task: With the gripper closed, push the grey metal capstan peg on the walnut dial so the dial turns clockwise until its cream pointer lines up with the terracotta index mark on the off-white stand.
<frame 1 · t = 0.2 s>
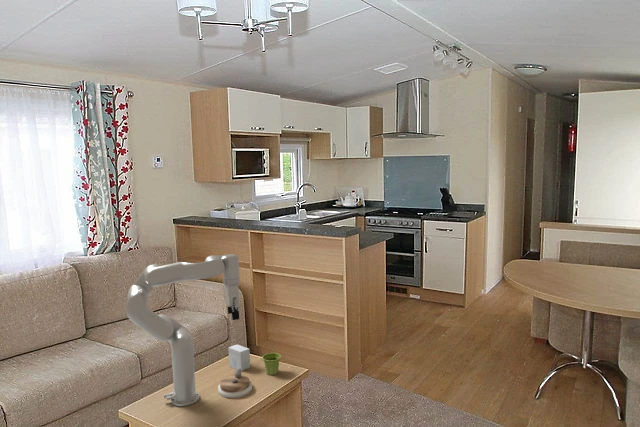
hand: (233, 316, 220), 36 cm above the table, tool pointing down, fingers open, 9 cm apart
dial: (234, 379, 222), point 5 cm above the table, hinge at 60.0°
stand: (235, 389, 223), on the table
skincare box: (239, 367, 248), on the table
plant pot: (272, 373, 240), on the table
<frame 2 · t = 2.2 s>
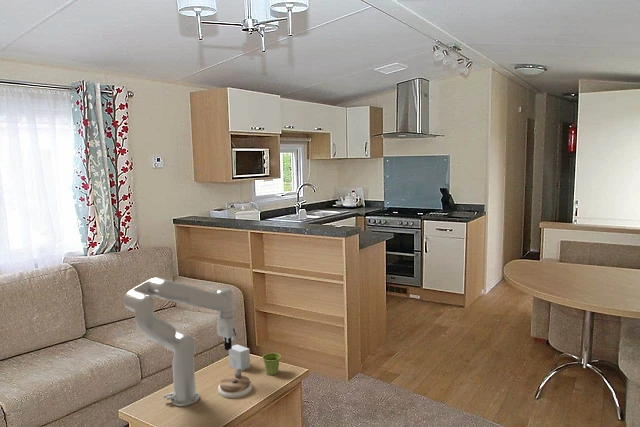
hand: (228, 349, 231), 16 cm above the table, tool pointing down, fingers closed
nothing on the table moved.
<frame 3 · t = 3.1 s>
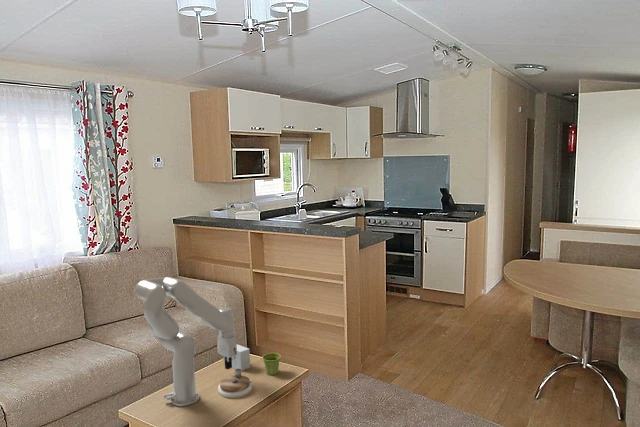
hand: (228, 368, 232), 6 cm above the table, tool pointing down, fingers closed
nothing on the table moved.
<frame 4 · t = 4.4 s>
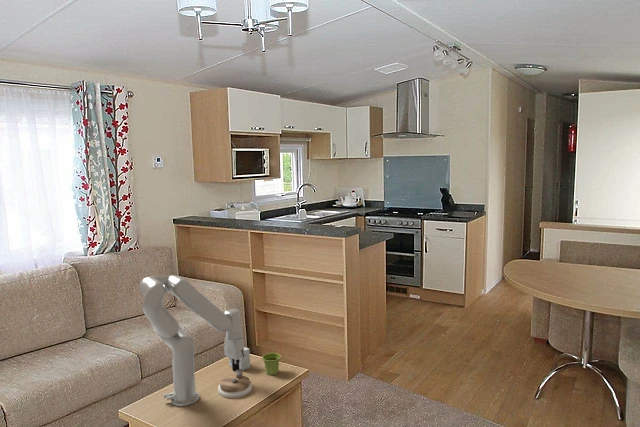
hand: (236, 370, 229), 6 cm above the table, tool pointing down, fingers closed
dial: (234, 379, 222), point 5 cm above the table, hinge at 52.4°, touching gripper
everything else where it was.
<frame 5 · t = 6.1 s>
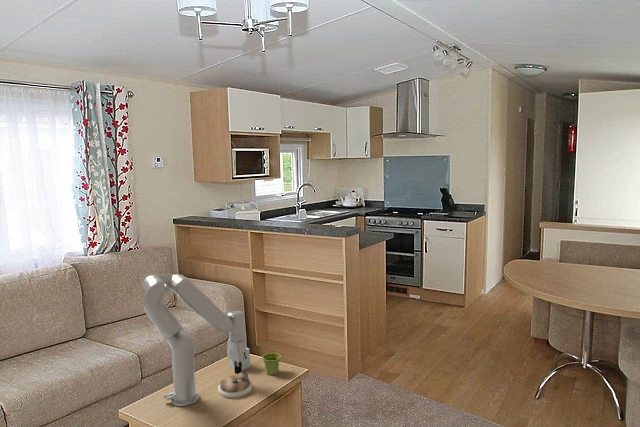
hand: (238, 372, 227), 6 cm above the table, tool pointing down, fingers closed
dial: (234, 379, 222), point 5 cm above the table, hinge at 1.9°
everything else where it was.
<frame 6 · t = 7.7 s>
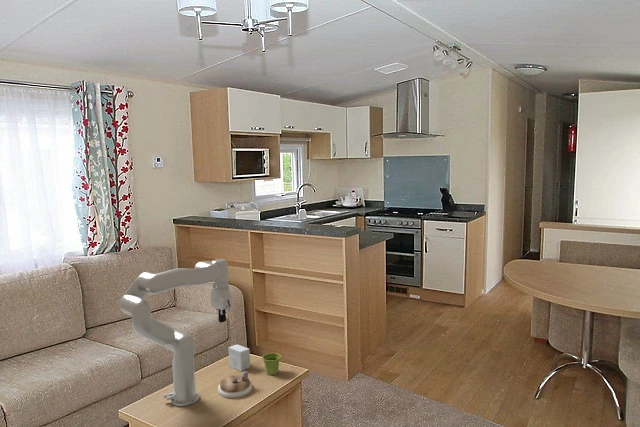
hand: (222, 321, 227), 31 cm above the table, tool pointing down, fingers closed
nothing on the table moved.
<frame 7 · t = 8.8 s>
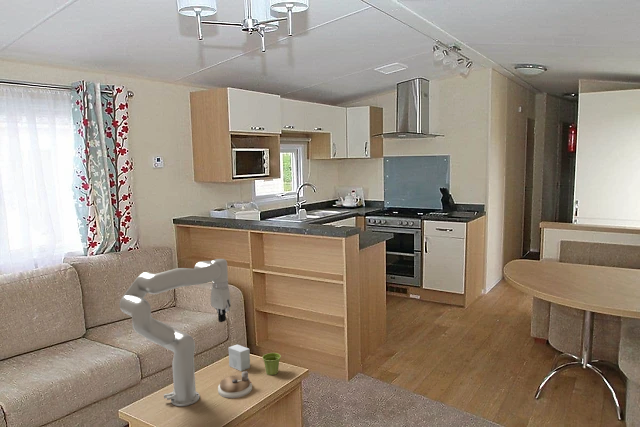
hand: (222, 321, 228), 31 cm above the table, tool pointing down, fingers closed
nothing on the table moved.
at the end: dial at +2° (first picture: +60°); plant pot moved 0.2 cm from its start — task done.
